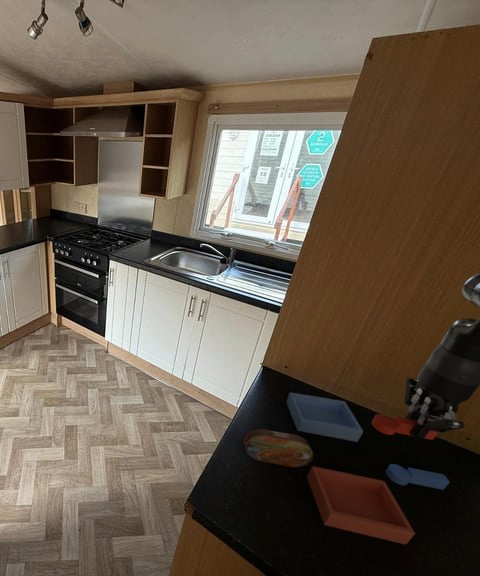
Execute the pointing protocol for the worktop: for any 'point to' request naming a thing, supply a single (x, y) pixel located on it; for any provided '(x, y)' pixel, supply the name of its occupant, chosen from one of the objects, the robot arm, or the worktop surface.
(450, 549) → the worktop surface
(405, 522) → the terracotta bin
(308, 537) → the worktop surface
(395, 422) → the red spoon
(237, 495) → the worktop surface
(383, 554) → the worktop surface
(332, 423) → the blue bin
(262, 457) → the tin
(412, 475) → the blue spoon
